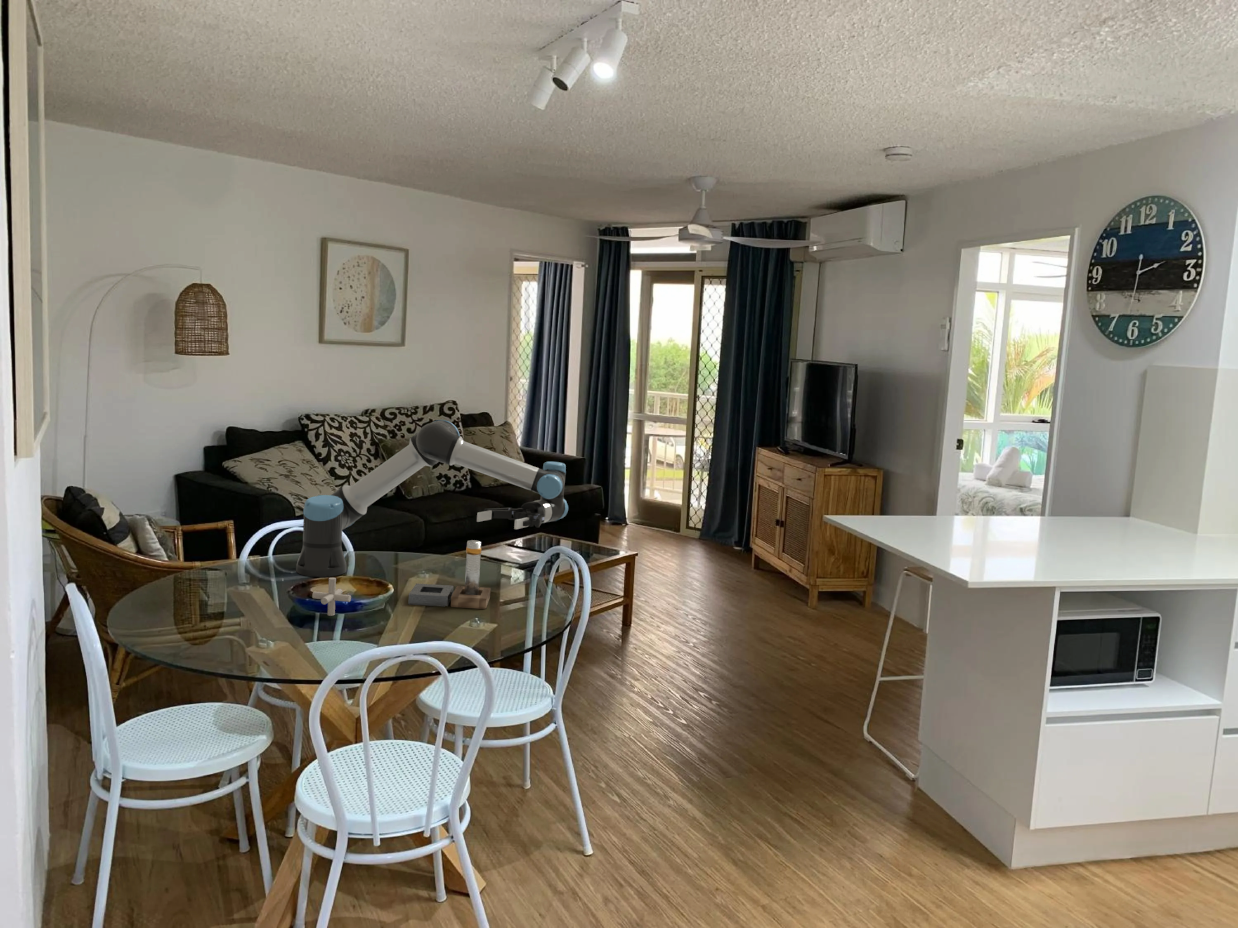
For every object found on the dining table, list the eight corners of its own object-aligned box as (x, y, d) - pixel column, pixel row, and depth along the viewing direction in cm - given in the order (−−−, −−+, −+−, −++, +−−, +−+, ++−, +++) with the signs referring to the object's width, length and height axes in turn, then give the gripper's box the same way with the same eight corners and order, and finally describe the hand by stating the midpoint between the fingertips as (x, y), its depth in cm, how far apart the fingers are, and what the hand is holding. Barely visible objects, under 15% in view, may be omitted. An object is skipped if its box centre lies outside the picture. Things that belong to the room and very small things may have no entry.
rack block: (450, 606, 261) (451, 596, 261) (456, 595, 273) (456, 585, 272) (485, 608, 261) (486, 598, 261) (489, 597, 273) (490, 587, 273)
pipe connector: (356, 611, 250) (357, 575, 249) (341, 621, 240) (343, 584, 239) (320, 607, 251) (322, 572, 250) (305, 618, 241) (306, 581, 240)
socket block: (408, 604, 260) (408, 594, 260) (415, 593, 272) (416, 583, 272) (447, 606, 261) (447, 596, 261) (452, 595, 273) (453, 585, 272)
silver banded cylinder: (462, 603, 265) (465, 542, 263) (464, 599, 269) (467, 539, 267) (477, 604, 265) (481, 543, 263) (479, 600, 269) (482, 540, 267)
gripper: (567, 530, 287) (530, 540, 268) (501, 518, 298) (462, 526, 279) (569, 507, 286) (532, 515, 267) (503, 495, 297) (463, 502, 278)
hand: (496, 520), depth 273 cm, fingers open, 13 cm apart
